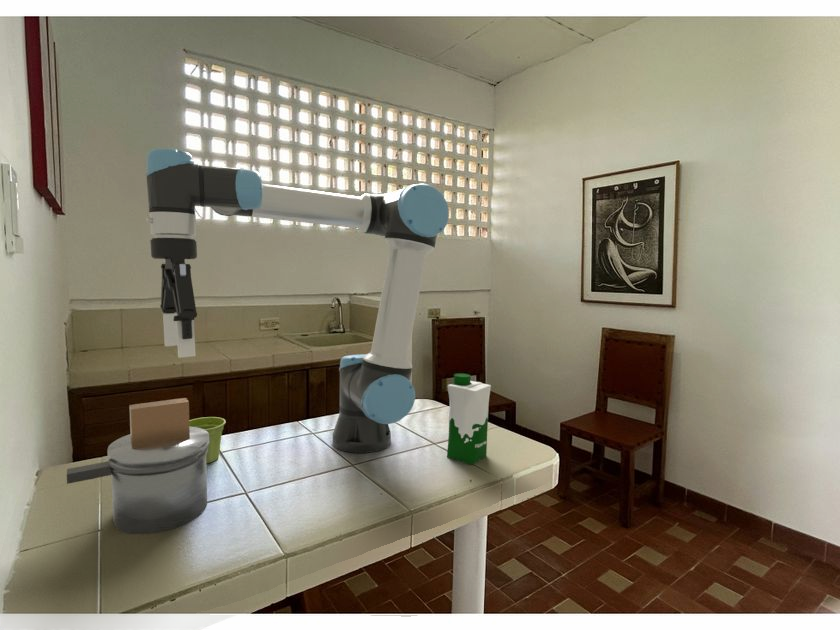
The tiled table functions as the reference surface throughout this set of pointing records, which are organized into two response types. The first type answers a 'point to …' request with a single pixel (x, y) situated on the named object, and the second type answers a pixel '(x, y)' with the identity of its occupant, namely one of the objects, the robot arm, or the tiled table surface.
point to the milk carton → (468, 419)
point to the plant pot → (211, 434)
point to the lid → (158, 435)
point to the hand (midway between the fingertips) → (179, 351)
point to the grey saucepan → (152, 492)
